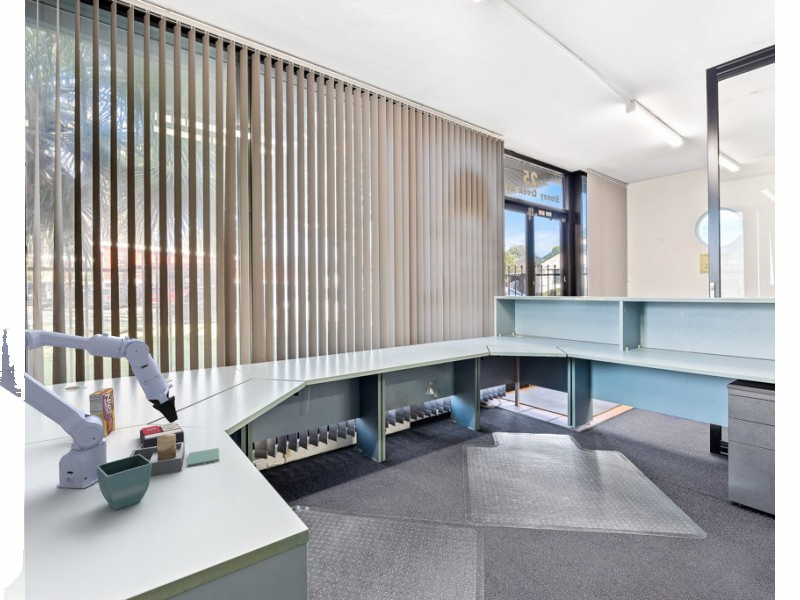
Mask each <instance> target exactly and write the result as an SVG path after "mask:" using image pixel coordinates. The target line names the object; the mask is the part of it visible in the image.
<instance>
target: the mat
mask: <svg viewBox="0 0 800 600" xmlns="http://www.w3.org/2000/svg"><path fill="white" fill-rule="evenodd" d="M219 450H220V449H219V447H217V448H211V449H204V450H199V451H194V452H189V453H188V460H187V465H186V466H187V467H188V468H189V467H194V465H195V466H199V465H198V464H200V465H205V464H204V463H206V464H210V463H209V462H211V463H215V462H214V461H217V462H219V461H220V451H219ZM218 460H219V461H218Z"/></svg>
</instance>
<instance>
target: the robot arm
mask: <svg viewBox="0 0 800 600" xmlns="http://www.w3.org/2000/svg"><path fill="white" fill-rule="evenodd" d="M7 329H8V328H4V329H2V330H3V331H4V335H3V337H2V338H3V342H4V343H3V346H2V352H3V354H2V371H0V372H2V377H0V378H1V379H0V381H1V382H0V387H2V389H5V390H7V391H8V392H9V393H11V394H12V395H14V396H15V397H17V398H18V397H21V393H16V392H21V389H17V388H15V387H14V386H15V385H17V384H16V383H15V381H14V380H15V377H14V371H15V370H14V365H13V366H12V367H10V366H9V363H10V362H9V357H10V356H9V355H8V345H7V343H6V338H7V336H6V334H7V331H6V330H7ZM27 347H28V350H29V351H30V350H34V349H38V348H42V347H56V348H66V349H67V348H68V349H77V350H78V349H79V350H86V351H87V353H88V354H89V356H93V357H94V356H95V357H101V358H102V357H103V358H111V359H121V358H124V359H126V360H127V361H128V364H129V365H130V366H131V371H132V372H133V374H134V376H135V378H136V379H137V382H138V384H139V385H140V388H141V389H142V391H143V393H144V395H145V398H146V400H147V401H148V402H150V403H151V404H152V405H151V406H152V407H153V409H155V410H157V411H158V412H159V413H161V415H163V416H164V418H165V419H166V420H167V421H168V423H173V422H175V421H177V420H179V417H178V413H177V409H176V403H175V402H176V397H175V395H172V396H170V395H169V394H170V389H172V388H173V387H174V385H173V384H172V383H170V384H167V382H166V380H165V378H164V376H163V374H162V371H161V370H160V367H158V365H157V363H156V361H155V359H154V358H153V357H152V354H151V353H150V347H149V345H147V343H146V342H144V341H142V340H141V339H137V338H135V337H133V338H130V336H125V337H120V336H113V335H110V334H109V333H108V332H102V334H99V333H97V334H94V335H92V336H90V337H85V336H82V335H81V336H80V335H74V334H68V333H63V332H56V331H50V330H45V329H44V330H43V329H32V328H31V329H29V328H26V329H25V350H26V348H27ZM11 371H12V373H11ZM24 378H25V400H24V401H23V402H24V403H26V404H28V405H29V406H30V407H32V408H33V409H35V410H36V411H38V412H39V413H41V414H42V415H44V416H45V417H47V418H48V419H50V421H53V422H55V424H57V425H59V426H60V427H61V428H62V429H63V431H64V432H65V433H66V434H68V435H69V436H70V437H71V438H72V441H73V442H72V443H71V444H70V449H69V451H68V452H66V454H64V455H63V456H61V458H60V460H59V462H58V463H59V464H58V476H59V477H58V479H59V482H58V484H57V485H56V488H62V489H63V488H64V489H65V488H70V489H86V488H88V487H89V486H92V485H93V484H96V483H97V482H98V475H97V468H96V466H98V465H101V464H105V463H108V462H107V461H108V460H107V458H108V457H107V456H108V455H107V437H105V438H104V435H105V430H104V428H103V421H102V419H101V418H100V417H98V416H95V415H90V413H89V414H88V413H87V412H85V411H84V410H81V409H79V408H77V407H75V406H74V405H72V404H71V403H69V402H68V401H67V400H65V399H64V398H63V397H61V396H59V395H58V394H57V393H55V391H53V390H51V389H50V388H48V387H47V386H45V385H44V384H43V383H41V382H40V381H39V380H37V379H36V378H34V377H32V376H31V375H30V374H28V373H27V372H26V371H24Z"/></svg>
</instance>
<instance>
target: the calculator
mask: <svg viewBox="0 0 800 600" xmlns="http://www.w3.org/2000/svg"><path fill="white" fill-rule="evenodd" d="M184 433H185V432H184V431H183V429H182V428H181V427H180V426H179V424H178V423H177V422H175V421H174V422H172V423H170V422H168V423H163V424H159V425H153V426H147V427H141V429H140V430H139V440H140V442H141V443H140V444H141V445H142V448H149V447H155V446H157V437H159V436H161V435H164V434H176V443H181V442H185V434H184Z"/></svg>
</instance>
